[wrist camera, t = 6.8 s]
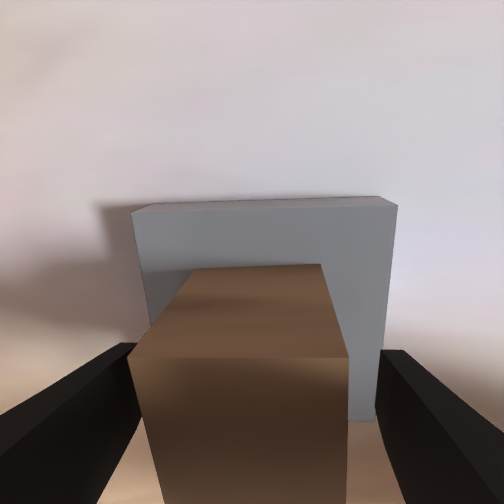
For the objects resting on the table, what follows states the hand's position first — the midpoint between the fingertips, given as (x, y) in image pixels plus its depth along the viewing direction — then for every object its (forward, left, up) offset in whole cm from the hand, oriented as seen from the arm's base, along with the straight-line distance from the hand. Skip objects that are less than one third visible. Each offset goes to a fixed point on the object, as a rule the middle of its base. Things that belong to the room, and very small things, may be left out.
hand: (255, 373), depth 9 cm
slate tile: (0, 0, -5) cm, 5 cm away
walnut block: (0, 0, -3) cm, 3 cm away
